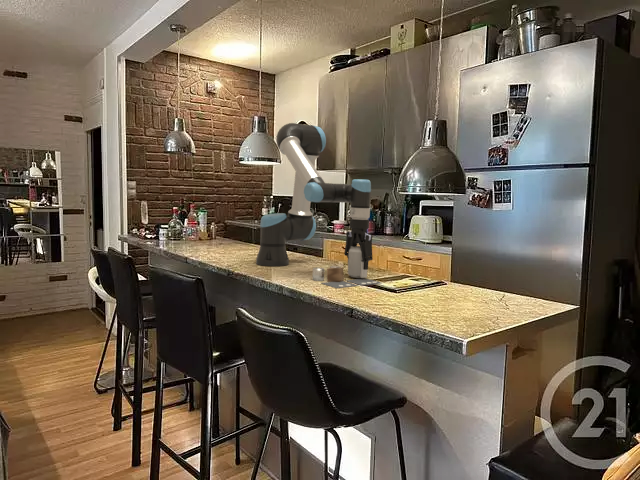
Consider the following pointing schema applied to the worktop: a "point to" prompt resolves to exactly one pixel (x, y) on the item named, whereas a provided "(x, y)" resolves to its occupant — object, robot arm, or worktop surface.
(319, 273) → the tin
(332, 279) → the walnut block
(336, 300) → the worktop surface
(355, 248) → the can
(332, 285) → the pad two
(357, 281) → the pad three
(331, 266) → the tin
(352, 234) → the robot arm
